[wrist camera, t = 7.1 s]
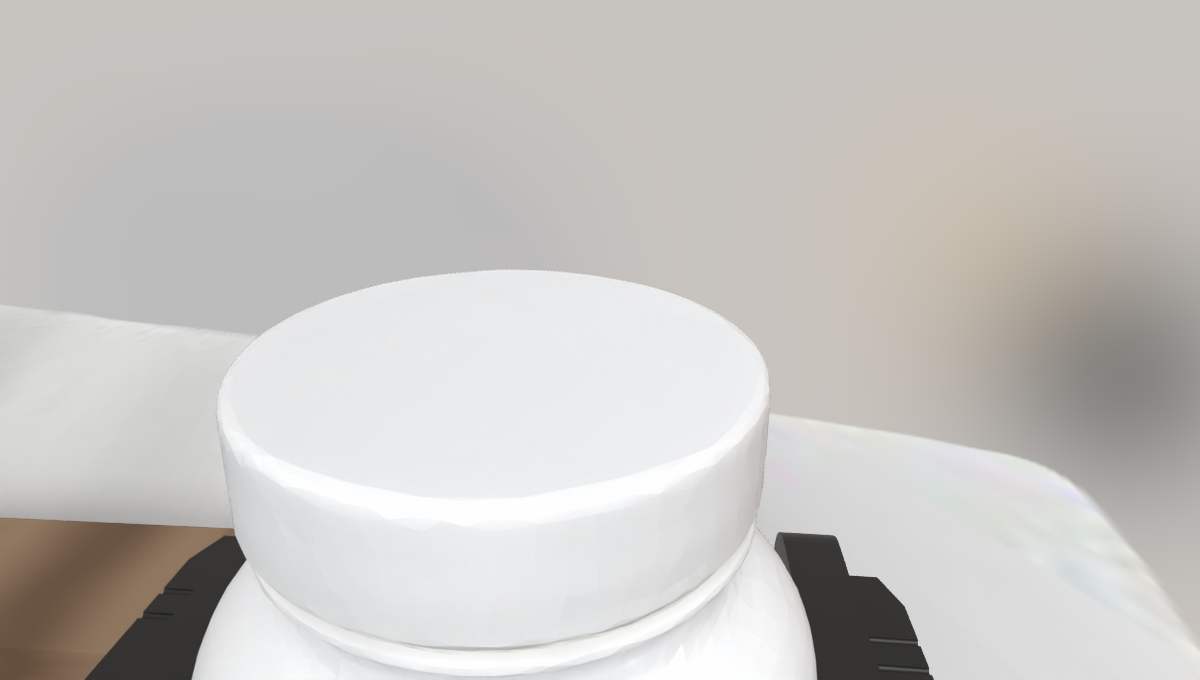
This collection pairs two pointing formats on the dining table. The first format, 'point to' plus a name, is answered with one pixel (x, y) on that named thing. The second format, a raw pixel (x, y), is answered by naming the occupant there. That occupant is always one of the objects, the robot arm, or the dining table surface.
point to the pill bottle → (501, 490)
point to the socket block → (81, 588)
